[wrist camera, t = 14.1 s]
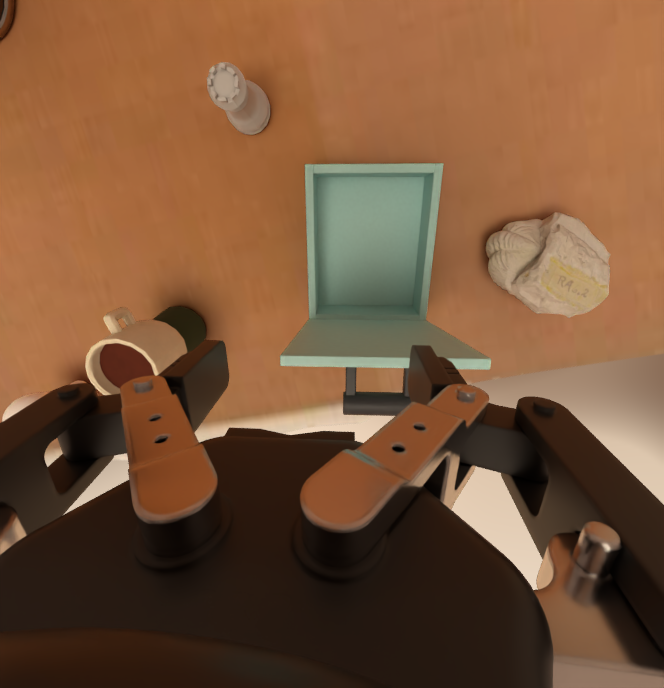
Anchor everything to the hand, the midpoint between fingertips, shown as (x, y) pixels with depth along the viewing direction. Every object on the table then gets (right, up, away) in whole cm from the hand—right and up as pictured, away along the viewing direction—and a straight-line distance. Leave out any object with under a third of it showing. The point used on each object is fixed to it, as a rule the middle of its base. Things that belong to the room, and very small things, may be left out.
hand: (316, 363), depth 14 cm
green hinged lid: (+4, +2, +14) cm, 15 cm away
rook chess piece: (-8, +25, +20) cm, 33 cm away
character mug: (-19, +3, +29) cm, 35 cm away
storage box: (+5, +12, +24) cm, 27 cm away
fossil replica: (+23, +11, +24) cm, 35 cm away
